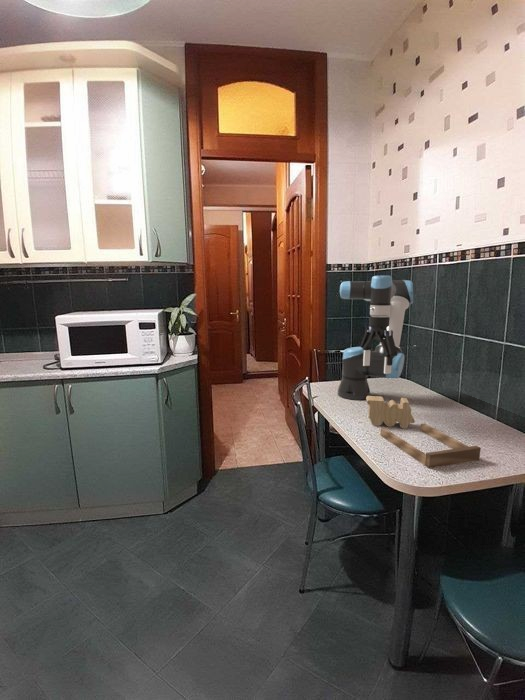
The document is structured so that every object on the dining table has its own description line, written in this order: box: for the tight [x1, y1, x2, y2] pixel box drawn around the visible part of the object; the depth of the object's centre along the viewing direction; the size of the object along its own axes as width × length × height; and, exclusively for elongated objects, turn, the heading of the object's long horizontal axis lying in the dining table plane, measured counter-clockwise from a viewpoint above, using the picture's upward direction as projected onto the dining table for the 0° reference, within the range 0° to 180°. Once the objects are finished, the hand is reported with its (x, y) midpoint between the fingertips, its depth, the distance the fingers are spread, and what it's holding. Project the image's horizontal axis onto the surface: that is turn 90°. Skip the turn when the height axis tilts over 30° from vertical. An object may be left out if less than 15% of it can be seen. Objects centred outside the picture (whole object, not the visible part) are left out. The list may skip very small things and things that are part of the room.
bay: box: [379, 423, 482, 469], centre depth 112 cm, size 24×18×4 cm
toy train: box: [365, 395, 416, 429], centre depth 131 cm, size 6×17×10 cm, turn 77°
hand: (376, 369), depth 139 cm, fingers open, 13 cm apart
